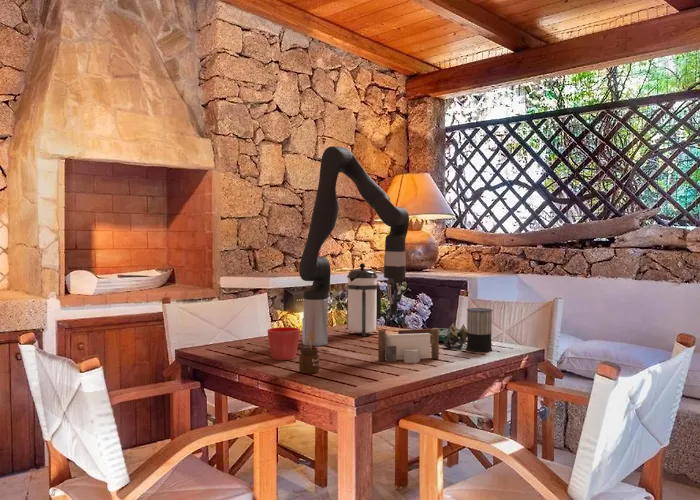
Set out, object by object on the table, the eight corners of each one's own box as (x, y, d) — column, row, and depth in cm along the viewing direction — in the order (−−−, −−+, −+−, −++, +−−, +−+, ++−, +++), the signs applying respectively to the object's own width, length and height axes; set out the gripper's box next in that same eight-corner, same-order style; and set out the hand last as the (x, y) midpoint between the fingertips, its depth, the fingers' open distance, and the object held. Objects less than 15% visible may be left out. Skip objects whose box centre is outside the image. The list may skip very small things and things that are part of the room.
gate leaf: (428, 357, 204) (428, 333, 204) (430, 358, 202) (430, 333, 202) (385, 359, 200) (385, 334, 200) (387, 359, 199) (387, 335, 199)
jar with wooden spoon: (296, 373, 179) (296, 333, 179) (303, 369, 186) (303, 329, 185) (315, 374, 178) (315, 333, 178) (321, 370, 184) (321, 330, 184)
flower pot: (263, 356, 206) (263, 327, 206) (294, 354, 210) (294, 326, 210) (272, 362, 196) (272, 332, 196) (304, 359, 200) (304, 330, 200)
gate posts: (380, 362, 196) (380, 331, 196) (377, 359, 200) (377, 329, 200) (441, 359, 201) (441, 329, 201) (437, 357, 205) (437, 327, 205)
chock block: (415, 363, 195) (415, 351, 195) (404, 362, 197) (404, 350, 197) (419, 361, 199) (419, 349, 199) (408, 360, 200) (408, 348, 200)
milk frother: (497, 351, 217) (497, 310, 216) (457, 353, 212) (457, 311, 212) (477, 345, 230) (477, 306, 230) (439, 347, 226) (439, 307, 225)
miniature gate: (399, 324, 261) (470, 321, 254) (400, 337, 261) (471, 335, 254) (390, 334, 234) (469, 331, 228) (391, 348, 234) (470, 345, 228)
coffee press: (383, 337, 248) (383, 263, 248) (344, 337, 248) (344, 263, 247) (380, 330, 265) (381, 262, 265) (344, 330, 265) (344, 262, 265)
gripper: (379, 263, 216) (378, 311, 216) (389, 265, 203) (388, 317, 204) (399, 263, 218) (398, 311, 218) (411, 265, 205) (409, 316, 205)
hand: (393, 314), depth 211 cm, fingers closed
